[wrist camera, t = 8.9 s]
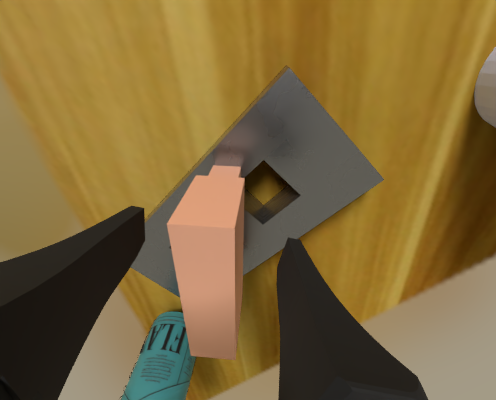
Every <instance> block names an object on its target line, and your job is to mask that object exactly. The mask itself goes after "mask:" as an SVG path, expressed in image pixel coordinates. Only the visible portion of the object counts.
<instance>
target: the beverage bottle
mask: <svg viewBox="0 0 496 400" xmlns="http://www.w3.org/2000/svg"><path fill="white" fill-rule="evenodd" d="M153 322H154V323H153V326H152V325H151V326H152V328H151V330H150V332H149V335H148V337H147V336H146V337H147V340H146V339H145V340H146V342H145V341H144V343H145V344H143V346H142V349H141V351H140V353H141V354H140V356H139V359H138V361H137V364H136V363H135V364H136V366H135V368H134V370H133V373H132V372H131V373H132V374H131V377H129V378H130V380H129V382H128V385H127V387H126V389H125V391H124V394H123V395H122V396H121V397H122V399H121V400H185V399H186V395H187V392H188V391H187V390H189V389H188V387H190V386H189V384H190V380H191V376H192V374H193V373H192V371H193V370H194V369H193V367H194V366H195V365H194V363H195V360H196V356H191V353H190V348H189V342H188V337H187V331H186V326H185V321H184V315H183V313H181V312H166V313H163V314H161V315H159V316H158V317H157V319H156V320H155V321H153Z"/></svg>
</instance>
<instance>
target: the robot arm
mask: <svg viewBox="0 0 496 400" xmlns="http://www.w3.org/2000/svg"><path fill="white" fill-rule="evenodd" d="M474 99H475V106H476V109H477V111H478V113H479V115H480V116H481V117H482V119H483V120H485V121H486V122H488V123H489V124H491V125H492V126H494V127H495V128H496V47H495V48H494V49H493V51H492V52H491V54H490V55H489V57H488V58H487V59H486V61H485V63H484V65H483V67H482V69H481V71H480V73H479V76H478V79H477V82H476V85H475V92H474ZM144 242H145V219H144V208H140V207H135V206H130V207H128V208H126V209H124V210H123V211H121V212H119V213H117V214H115V215H113V216H111V217H110V218H108V219H106V220H104V221H102V222H100V223H98V224H96V225H94V226H92V227H90V228H88V229H86V230H84V231H82V232H80V233H78V234H76V235H74V236H72V237H69V238H67V239H65V240H63V241H60V242H58V243H55V244H53V245H50V246H48V247H45V248H43V249H40V250H37V251H35V252H31V253H28V254H25V255H22V256H19V257H17V258H13V259H10V260H8V261H4V262H0V400H58V397H59V395H60V393H61V391H62V389H63V386H64V384H65V382H66V380H67V378H68V376H69V373H70V371H71V369H72V367H73V365H74V363H75V361H76V359H77V357H78V355H79V353H80V351H81V349H82V347H83V345H84V343H85V341H86V339H87V337H88V335H89V333H90V331H91V329H92V327H93V326H94V324H95V322H96V320H97V318H98V316H99V315H100V313H101V311H102V309H103V307H104V305H105V304H106V302H107V301H108V299H109V297H110V296H111V294H112V293H113V292H114V290H115V289H116V287H117V286H118V284H119V283H120V281H121V280H122V278H123V277H124V275H125V274H126V273H127V271H128V270H129V268H130V267H131V265H132V264H133V262H134V261H135V259H136V258H137V256H138V254H139V252H140V250H141V248H142V246H143V244H144ZM277 296H278V309H279V322H280V377H279V379H280V380H279V400H428V398H427V396H426V394H425V392H424V390H423V387H422V385H421V383H420V381H419V379H418V377H417V376H416V375H415V374H413V373H412V372H411V371H410V370H409V369H408V368H406V367H405V366H404V365H403V364H402V363H400V362H399V361H398V360H397V359H396V358H394V357H393V356H392V355H391V354H390V353H389V352H388V351H386V350H385V349H384V348H383V347H382V346H381V345H380V344H379V343H378V342H377V341H376V340H375V339H374V338H373V337H372V336H371V335H369V333H368V332H367V331H366V330H365V329H364V328H363V327H362V326H361V325H360V324H359V323H358V322H357V321H356V320H355V319H354V318H353V316H352V315H351V314H350V313H349V312H348V311H347V310H346V308H345V307H344V306H343V305H342V303H341V302H340V301H339V300H338V299H337V297H336V296H335V295H334V293H333V292H332V291H331V289H330V288H329V287H328V285H327V284H326V282H325V281H324V279H323V278H322V276H321V275H320V273H319V271H318V270H317V268H316V267H315V265H314V263H313V262H312V260H311V258H310V256H309V255H308V253H307V251H306V249H305V248H304V246H303V244H302V242H301V241H300V240H299V239H294V238H289V237H288V239H287V241H286V244H285V247H284V250H283V252H282V255H281V258H280V261H279V263H278V267H277Z"/></svg>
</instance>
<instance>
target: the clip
mask: <svg viewBox="0 0 496 400" xmlns="http://www.w3.org/2000/svg"><path fill="white" fill-rule="evenodd" d="M244 186H245V178H241V167H236V166H217V165H213V167H212V169H211V171H210V173H209V175H208V176H201V175H196V176H195V178H194V179H193V181H192V183H191V184H190V186H189V188H188V189H187V191H186V193H185V194H184V196H183V198H182V199H181V201H180V203H179V204H178V206H177V208H176V209H175V211H174V213H173V214H172V216H171V218H170V219H169V221H168V223H167V228H168V233H169V239H170V244H171V250H172V255H173V261H174V266H175V271H176V277H177V282H178V288H179V293H180V299H181V304H182V310H183V315H184V321H185V326H186V331H187V337H188V342H189V348H190V353H191V356H198V357H209V358H220V359H230V360H235V359H236V350H237V341H238V332H239V323H240V314H241V305H242V293H243V240H244Z"/></svg>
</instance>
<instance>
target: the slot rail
mask: <svg viewBox="0 0 496 400" xmlns="http://www.w3.org/2000/svg"><path fill="white" fill-rule="evenodd" d="M263 160H264V161H265V162H266V163H268V164H269V165H270V166H271V167H272V168H273V169H274V170H275V171H276V172H277V173H278V174H279V175H280V176H281V177H282V178H283V179H284V180H285V181H286V182H287V183H288V184H289V185H288V186H287V187H286V188H284V189H283V190H282V191H281V192H279V193H278V194H277V195H276V196H275V197H273V198H272V199H271V200H270V201H268V202H267V203H266V204H265V205H263V204H262V203H260V202H259V201H258V200H257V199H256V198H255V197H254V196H252V195H251V194H250V193H249V192H248V191H247V190H246V189H244V240H243V275H245V274H246V273H248V272H249V271H251V270H252V269H254V268H255V267H257V266H258V265H260V264H261V263H263V262H264V261H265V260H267V259H268V258H270V257H271V256H273V255H274V254H276V253H277V252H279V251H280V250H282V249H283V248H284V247H285V244H286V241H287V239H288V237H289V238H294V239H298V238H299V237H301V236H302V235H304V234H305V233H307V232H308V231H310V230H311V229H312V228H314V227H315V226H317V225H318V224H320V223H321V222H323V221H324V220H326V219H327V218H329V217H330V216H332V215H333V214H334V213H336V212H337V211H339V210H340V209H342V208H343V207H345V206H346V205H348V204H349V203H351V202H352V201H354V200H355V199H356V198H358V197H359V196H361V195H362V194H364V193H365V192H367V191H368V190H370V189H371V188H373V187H374V186H376V185H377V184H379V183H380V182H381V181H383V180H384V179H383V178H382V176H381V175H380V174H379V173H378V172H377V171H376V169H375V168H374V167H373V166H372V165H371V163H370V162H369V161H368V160H367V159H366V158H365V156H364V155H363V154H362V153H361V152H360V150H359V149H358V148H357V147H356V146H355V145H354V143H353V142H352V141H351V140H350V139H349V138H348V136H347V135H346V134H345V133H344V132H343V130H342V129H341V128H340V127H339V126H338V125H337V123H336V122H335V121H334V120H333V119H332V117H331V116H330V115H329V114H328V113H327V112H326V110H325V109H324V108H323V107H322V106H321V105H320V103H319V102H318V101H317V100H316V99H315V97H314V96H313V95H312V94H311V93H310V92H309V90H308V89H307V88H306V87H305V86H304V84H303V83H302V82H301V81H300V80H299V79H298V77H297V76H296V75H295V74H294V73H293V72H292V70H291V69H290V68H289V67H288V66H285V67H284V68H283V70H282V71H281V72H280V73H279V74H278V75H277V76H276V77H275V78H274V79H273V80H272V82H271V83H270V84H269V85H268V86H267V87H266V88H265V89H264V90H263V91H262V92H261V94H260V95H259V96H258V97H257V98H256V99H255V100H254V101H253V102H252V103H251V104H250V106H249V107H248V108H247V109H246V110H245V111H244V112H243V113H242V114H241V115H240V116H239V117H238V119H237V120H236V121H235V122H234V123H233V124H232V125H231V126H230V127H229V128H228V129H227V131H226V132H225V133H224V134H223V135H222V136H221V137H220V138H219V139H218V140H217V141H216V143H215V144H214V145H213V146H212V147H211V148H210V149H209V150H208V151H207V152H206V153H205V155H204V156H203V157H202V158H201V159H200V160H199V161H198V162H197V163H196V164H195V165H194V167H193V168H192V169H191V170H190V171H189V172H188V173H187V174H186V175H185V176H184V177H183V178H182V180H181V181H180V182H179V183H178V184H177V185H176V186H175V187H174V188H173V189H172V190H171V192H170V193H169V194H168V195H167V196H166V197H165V198H164V199H163V200H162V201H161V202H160V204H159V205H158V206H157V207H156V208H155V209H154V210H153V211H152V212H151V213H150V214H149V216H148V217H147V218H146V219H145V242H144V244H143V246H142V248H141V250H140V252H139V254H138V256H137V258H136V259H135V261H134V262H133V264H132V265H131V268H133V269H134V270H136V271H138V272H139V273H141V274H143V275H144V276H146V277H147V278H149V279H151V280H152V281H154V282H156V283H157V284H159V285H160V286H162V287H164V288H165V289H167V290H169V291H170V292H172V293H173V294H175V295H177V296H178V297H180V293H179V288H178V282H177V277H176V271H175V266H174V261H173V255H172V250H171V244H170V239H169V233H168V228H167V223H168V221H169V219H170V218H171V216H172V214H173V213H174V211H175V209H176V208H177V206H178V204H179V203H180V201H181V199H182V198H183V196H184V194H185V193H186V191H187V189H188V188H189V186H190V184H191V183H192V181H193V179H194V178H195V176H196V175H201V176H208V175H209V173H210V171H211V169H212V167H213V165H217V166H236V167H241V178H245V177H246V176H247V175H248V174H249V173H250V172H251V171H252V170H253V169H254V168H255V167H257V166H258V165H259V164H260V163H261V162H262V161H263Z"/></svg>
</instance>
